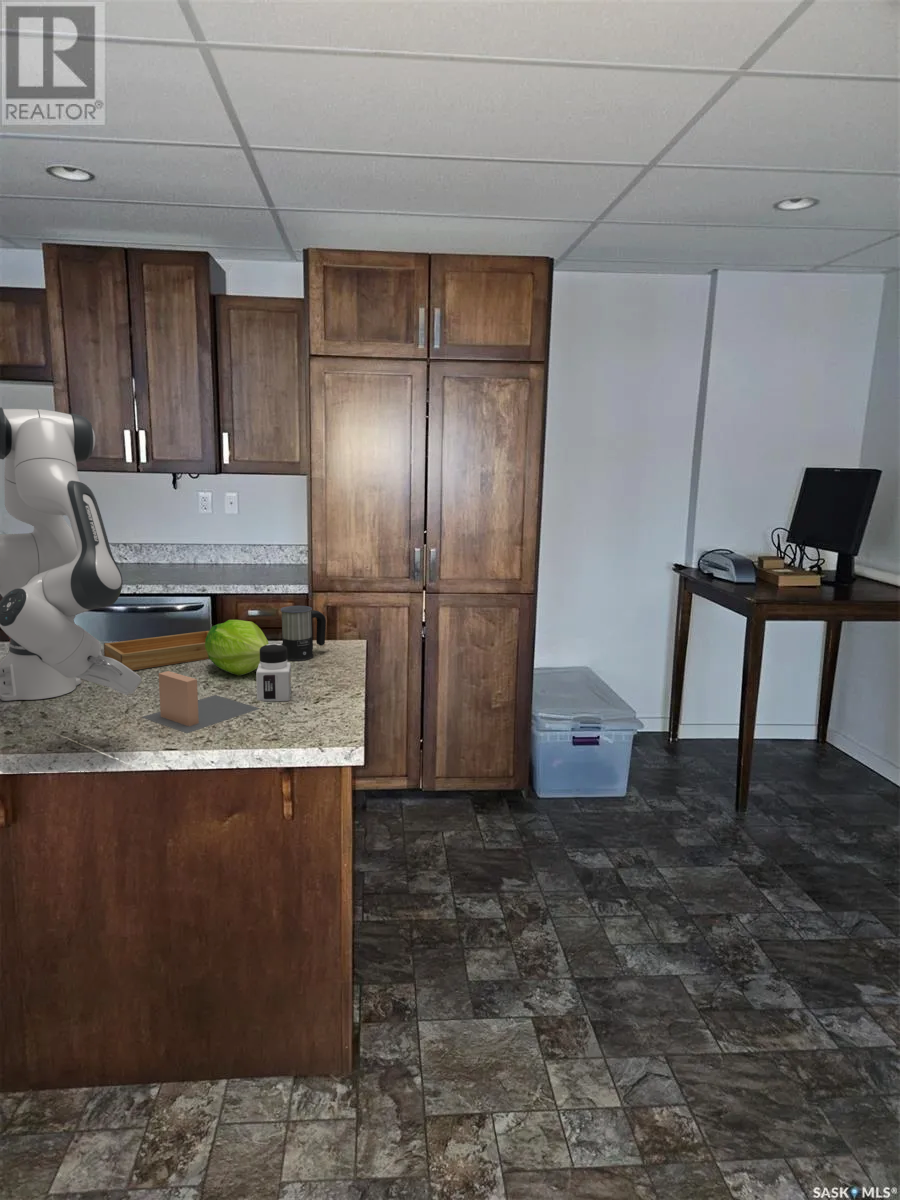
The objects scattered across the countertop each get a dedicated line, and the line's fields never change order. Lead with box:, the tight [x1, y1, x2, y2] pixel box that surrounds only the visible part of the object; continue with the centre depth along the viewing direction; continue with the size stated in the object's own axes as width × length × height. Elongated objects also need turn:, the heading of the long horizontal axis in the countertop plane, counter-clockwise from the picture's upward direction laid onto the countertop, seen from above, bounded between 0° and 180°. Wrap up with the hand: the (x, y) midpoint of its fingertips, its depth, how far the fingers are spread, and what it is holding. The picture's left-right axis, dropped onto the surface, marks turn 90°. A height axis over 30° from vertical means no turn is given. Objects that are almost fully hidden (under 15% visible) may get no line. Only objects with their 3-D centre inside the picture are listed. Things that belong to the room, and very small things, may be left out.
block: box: [158, 670, 199, 726], centre depth 161 cm, size 10×3×10 cm, turn 56°
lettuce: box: [205, 619, 269, 676], centre depth 200 cm, size 15×23×16 cm
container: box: [255, 643, 292, 703], centre depth 179 cm, size 8×8×13 cm
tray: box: [103, 630, 210, 671], centre depth 212 cm, size 31×15×6 cm, turn 132°
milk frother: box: [280, 605, 327, 662], centre depth 219 cm, size 14×16×15 cm
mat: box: [141, 694, 261, 734], centre depth 167 cm, size 16×20×1 cm
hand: (126, 690), depth 149 cm, fingers closed
